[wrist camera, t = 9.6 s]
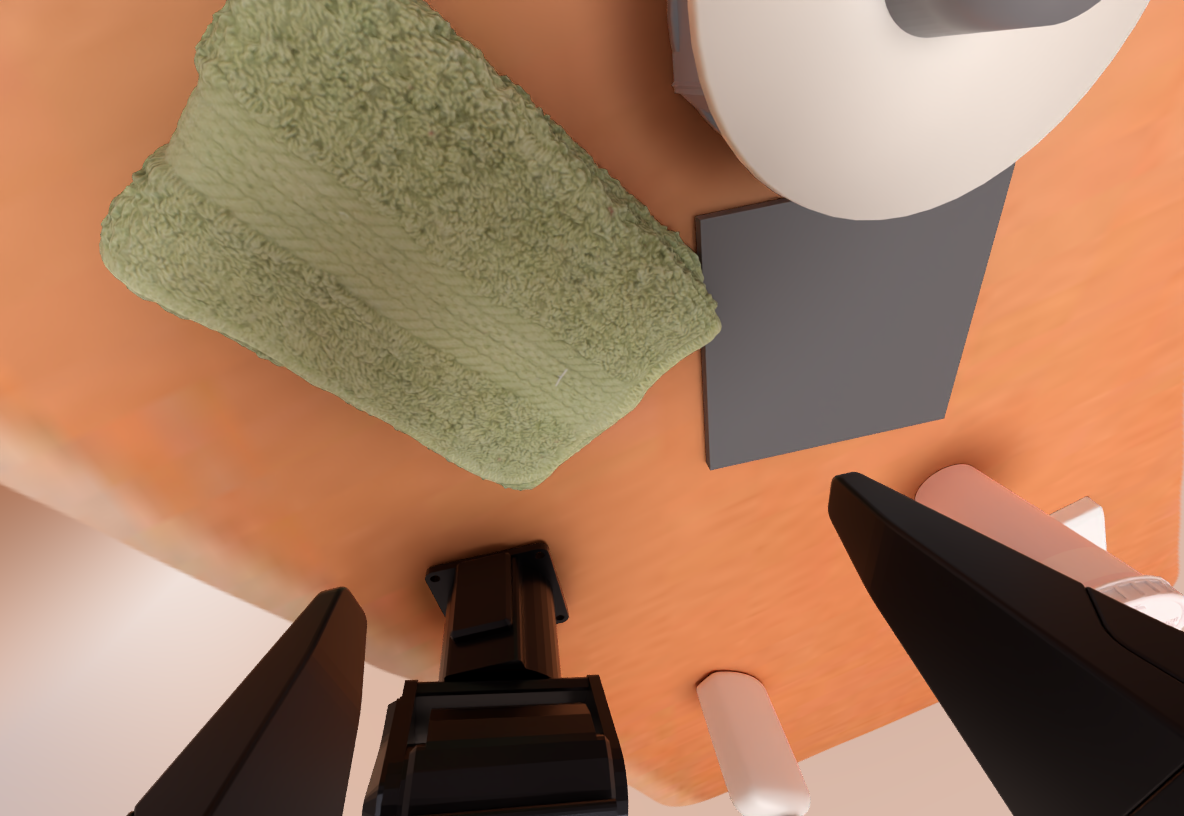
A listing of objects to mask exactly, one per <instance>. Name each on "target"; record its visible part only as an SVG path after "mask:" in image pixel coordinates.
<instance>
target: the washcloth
mask: <svg viewBox="0 0 1184 816" xmlns="http://www.w3.org/2000/svg"><path fill="white" fill-rule="evenodd" d="M195 49H196V54H195V59H194V63H195V66H196V69H197V71H198V73H199V79H198V84H197V86H196V87H195V88H194V90H193V91H192V93H191V95H190V97H189V99H188V101H187V105H186V107H185V108H184V109H183V112H182V114H181V117H180V119H179V121H178V124H177V128H176V130H175V132H174V133H173V135H172V137H171V140H170V142H169V144H165V145H163V146H162V147H160V148H158V149H157V150H156V151H155V152H154V153H153V154H151V155H150V156H149V157H148V158H147V159H146V160H145V162H144V164H143V167H142V169H141V170H139V171H137V172H135V173H133V175H132V179H133V182H132V183H131V184H130V185H129V186H126V188H125V190H124V191H123V192H122V193H121V194H119V195H118V196H117V197H115V198H114V199H113V200H112V202H111V204H110V207H109V212H108V215H107V216H106V217H105V218H104V219H103V221H102V223H101V226H102V231H101V234H100V235H101V240H100V243H99V247H100V254H101V257H102V260H103V262H104V264H105V266H106V268H107V269H108V270H109V271H110V272H111V273H112V274H113V275H114V276H115V277H116V278H117V279H119V280H120V281H121V282H123V283H124V284H125V285H126V286H127V288H128V289H129V290H130V291H132V292H133V293H134V294H136V295H137V296H139V297H140V298H142V299H143V300H148V301H152V302H156V303H157V304H159V305H160V306H161V307H162V308H163V309H164V310H165V311H167V312H170V313H172V314H174V315H176V316H177V317H179V318H182V319H187V320H192V321H195V322H197V323H199V324H201V325H203V326H205V327H207V328H209V329H211V330H215V331H218V332H219V333H221V334H222V335H224V336H225V337H227V338H230V339H232V340H234V341H236V342H237V343H239V344H240V345H241V346H243V347H246V348H247V349H249V350H251V351H253V352H255V353H256V354H257V356H258V357H259V358H262V359H267V360H269V361H271V362H272V363H273V364H275V365H277V366H283V367H286V368H287V369H288V370H291V371H292V372H294V373H295V374H297V375H298V376H300V377H302V378H303V379H305V380H306V381H307V382H309V383H310V384H311V385H313V386H316V387H319V388H321V389H322V390H325V391H328V392H330V393H332V394H334V395H336V396H338V397H340V398H341V399H342V400H344V401H345V402H346V403H347V404H351V405H352V406H354V407H355V408H357V409H358V410H360V411H365V412H367V413H368V414H369V415H370V416H375V417H377V418H379V419H381V420H383V421H384V422H386V423H388V424H390V425H392V426H393V427H394V429H395V430H397V431H398V430H400V431H401V432H403V433H405V434H407V435H410V436H411V437H413V438H414V439H415V440H417V441H418V442H420V443H421V444H422V445H424V446H426V447H428V449H431V450H433V451H434V452H435V453H437V454H440V455H442V456H443V457H445V458H446V460H447V461H448V462H452V463H454V464H456V465H457V466H458V467H460V468H463V469H465V470H467V471H469V472H471V473H473V474H475V475H477V476H480V477H481V478H482V480H484V479H487V480H490V481H493V482H496V483H497V484H500V485H502V486H503V487H504V488H511V489H514V490H520V491H521V490H526V489H533V488H535V487H536V486H538V485H539V484H540V483H542V482H543V481H544V480H545V479H546V478H547V477H549V476H550V475H551V474H552V473H553V472H554V470H555V469H556V468H557V467H558V466H560V465H561V464H562V463H564V462H565V461H566V460H568V459H569V458H570V457H571V456H573V455H574V454H575V453H576V452H579V451H580V449H582V448H583V447H584V446H585V445H586V444H589V443H590V442H591V441H592V440H593V439H594V438H596V437H597V436H598V435H600V434H601V433H602V432H603V431H605V430H607V429H608V428H609V427H611V426H612V425H614V424H615V423H616V422H617V421H618V420H620V419H621V418H623V417H624V416H625V415H627V414H628V413H629V412H631V411H632V410H633V409H634V408H635V407H636V406H637V405H638V404H639V402H640V401H641V400H642V398H643V396H644V394H645V393H646V391H647V390H648V389H649V388H650V387H651V386H652V385H653V384H654V383H655V382H656V381H657V380H658V379H659V378H660V377H661V376H662V375H663V374H664V373H666V372H667V371H668V370H669V369H670V368H672V367H673V366H674V365H676V364H677V363H678V362H679V361H680V360H682V359H683V358H685V357H686V356H688V355H690V354H691V353H693V352H694V351H696V350H698V349H700V348H702V347H703V346H705V345H706V344H708V343H709V342H711V341H712V340H713V339H714V338H715V336H716V335H717V334H718V333H720V331H721V327H722V325H721V321H720V319H719V317H718V316H717V314H716V312H715V309H716V307H717V304H718V303H717V302H716V301H715V300H714V299H713V298H712V295H711V294H708V292H707V290H706V285H705V284H704V283H703V281H704V276H703V274H702V269H701V263H700V261H699V257H698V256H697V254H696V253H694V252H693V251H692V250H691V249H690V248H689V247H688V246H687V245H686V244H685V243H684V242H683V241H682V239H681V238H680V236H679V232H674V231H669V230H667V228H668V227H666V226H663V225H660V223H659V222H658V221H656V220H655V219H654V217H653V216H652V215H650V212H649V210H648V208H647V206H645V205H643V204H642V203H641V202H640V201H639V200H638V199H636V198H635V197H634V196H633V195H632V194H629V193H628V192H627V191H626V190H625V189H624V188H623V187H622V186H621V184H620V181H619V180H617V179H614V178H612V177H611V176H610V175H609V174H608V171H607V170H606V169H604V168H598V166H597V165H596V164H595V163H594V161H593V158H592V157H591V156H590V155H589V154H588V153H587V152H586V150H585V149H583V148H581V147H580V146H579V145H578V144H577V143H576V142H574V141H573V140H572V139H571V137H570V136H569V135H567V134H566V132H565V130H564V129H563V128H562V126H561V125H557V124H556V123H555V122H554V121H553V120H552V119H550V115H544V114H543V110H542V108H540V107H538V108H536V107H535V104H534V103H533V102H532V101H531V98H530V95H529V94H527V93H526V92H525V91H524V90H523V89H522V88H521V87H520V86H519V85H515V84H514V83H513V82H512V81H511V80H510V79H509V78H508V77H507V75H505V76H499V75H498V74H497V73H496V71H495V69H494V68H493V67H492V66H491V65H490V64H489V63H488V62H487V61H486V59H485V58H484V55H483V53H482V52H481V50H479V49H477V48H476V47H474V46H473V45H472V44H471V43H470V42H469V41H467V40H464V39H462V38H461V37H459V36H457V35H456V33H455V31H454V30H453V29H452V28H451V26H450V23H449V22H447V21H446V20H444V19H443V18H442V16H441V15H440V14H439V13H438V12H436V11H434V10H432V9H431V8H430V6H429V5H428V4H427V3H426V2H425V1H423V0H227V1H226V4H225V6H224V7H223V8H222V9H221V10H219V11H218V12H216V13H214V14H213V21H212V23H211V24H209V25H208V27H207V29H206V32H205V33H204V34H203V36H202V38H201V41H200V42H199V43H198V44H197V45H196V47H195Z"/></svg>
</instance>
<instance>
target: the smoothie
mask: <svg viewBox="0 0 1184 816" xmlns="http://www.w3.org/2000/svg"><path fill="white" fill-rule="evenodd" d="M915 501H917V502H919V503H921V504H923V505H925V506H927V507H929V508H931V509H933V510H935V511H937V512H939V513H941V514H943V515H945V516H947V517H949V518H951V519H953V520H955V521H957V522H959V523H961V524H963V525H965V526H968V527H970V528H972V529H974V530H976V531H978V532H980V533H982V534H984V535H986V536H988V537H990V538H992V539H994V540H996V541H998V542H1000V543H1002V544H1004V545H1006V546H1008V547H1010V548H1012V549H1014V550H1016V551H1018V552H1020V553H1022V554H1024V555H1026V556H1028V557H1030V558H1032V559H1034V560H1036V561H1038V562H1040V563H1042V564H1044V565H1046V566H1048V567H1050V568H1052V569H1054V570H1056V571H1058V572H1060V573H1062V574H1064V575H1066V576H1068V577H1070V578H1072V579H1075V580H1077V581H1079V582H1081V583H1082V584H1083V585H1084V587H1091V588H1093V589H1095V590H1097V591H1099V592H1101V593H1103V594H1105V595H1107V596H1109V597H1111V598H1113V599H1115V600H1117V601H1119V602H1121V603H1123V604H1126V605H1128V606H1130V607H1132V608H1134V609H1136V610H1138V611H1140V612H1142V613H1144V614H1147V615H1149V616H1151V617H1153V618H1155V619H1157V620H1159V621H1161V622H1163V623H1165V624H1167V625H1170V626H1172V627H1174V628H1176V629H1179V630H1181V629H1182V628H1183V627H1184V596H1183V595H1182V594H1181V593H1179V592H1178V591H1177V590H1175V589H1174V588H1173V587H1172V586H1170V583H1169V582H1167V581H1166V580H1164V579H1163V578H1161V577H1158V576H1151V575H1142V574H1141V573H1139V572H1138V571H1136V570H1135V569H1133V568H1132V567H1130V566H1128V565H1127V564H1125V563H1124V562H1122V561H1121V560H1119V559H1118V558H1116V557H1115V556H1113V555H1112V554H1110V553H1109V552H1107V551H1105V550H1104V549H1102V548H1100V547H1099V546H1097V545H1095V544H1094V543H1092V542H1091V541H1089V540H1087V539H1086V538H1084V537H1083V536H1081V535H1080V534H1078V533H1076V532H1075V531H1073V530H1072V529H1070V528H1069V527H1067V526H1065V525H1064V524H1062V523H1061V522H1059V521H1057V520H1056V519H1054V518H1053V517H1051V516H1050V515H1048V514H1046V513H1045V512H1043V511H1042V510H1040V509H1039V508H1037V507H1035V506H1034V505H1032V504H1031V503H1029V502H1028V501H1026V500H1024V499H1023V498H1021V497H1020V496H1018V495H1016V494H1015V493H1013V492H1012V491H1010V490H1009V489H1007V488H1005V487H1004V486H1002V485H1001V484H999V483H998V482H996V481H994V480H993V479H991V478H990V477H988V476H986V475H985V474H983V473H982V472H980V471H979V470H977V469H975V468H974V467H972V466H970V465H966V464H958V465H952V466H949V467H946V468H944V469H942V470H940V471H938V472H936V473H935V474H933V475H932V476H930V477H929V478H928V479H927V480H926V481H925V482H924V483H923V484H922V485H921V487H920V488H919V490H918V491H917V494H916V496H915Z"/></svg>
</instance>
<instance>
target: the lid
mask: <svg viewBox="0 0 1184 816" xmlns="http://www.w3.org/2000/svg"><path fill="white" fill-rule="evenodd" d="M1149 1H1150V0H688V16H689V25H690V35H691V45H692V50H693V54H694V59H695V63H696V68H697V73H698V77H699V81H700V84H701V87H702V90H703V93H704V96H705V99H706V102H707V104H708V107H709V110H710V112H711V114H712V116H713V118H714V120H715V122H716V124H717V126H718V128H719V130H720V132H721V134H722V136H723V138H724V140H725V141H726V142H727V144H728V145H729V147H730V148H731V150H732V151H733V153H734V154H735V155H736V157H737V158H738V160H739V161H740V162H741V163H742V164H743V165H744V166H745V167H746V168H747V169H748V170H749V171H750V172H751V173H752V175H753V176H754V177H755V178H756V179H758V180H759V181H760V182H762V183H763V184H764V185H766V186H767V187H768V188H770V189H771V190H772V191H774V192H775V193H777V194H779V195H780V196H782V197H784V198H786V199H788V200H790V201H792V202H794V203H796V204H798V205H801V206H803V207H805V208H808V209H810V210H813V211H816V212H819V213H822V214H826V215H829V216H832V217H838V218H844V219H851V220H885V219H891V218H898V217H904V216H909V215H912V214H916V213H919V212H923V211H926V210H930V209H933V208H935V207H937V206H940V205H942V204H945V203H947V202H949V201H952V200H954V199H957V198H959V197H961V196H962V195H964V194H966V193H968V192H970V191H972V190H973V189H975V188H977V187H979V186H981V185H983V184H984V183H986V182H987V181H989V180H990V179H992V178H993V177H995V176H996V175H998V174H999V173H1001V172H1002V171H1004V170H1005V169H1007V168H1008V167H1009V166H1011V165H1012V164H1013V163H1015V162H1016V161H1017V160H1018V159H1019V158H1021V157H1022V156H1023V155H1024V154H1026V153H1027V152H1028V151H1029V150H1031V149H1032V148H1033V147H1034V146H1036V145H1037V144H1038V143H1039V142H1040V141H1041V140H1042V139H1043V138H1044V137H1045V136H1046V135H1047V134H1048V133H1049V132H1050V131H1051V130H1052V129H1053V128H1054V127H1056V126H1057V125H1058V124H1059V123H1060V122H1061V121H1062V120H1063V119H1064V118H1065V116H1066V115H1067V114H1068V113H1069V112H1070V111H1071V110H1072V109H1073V108H1074V106H1075V105H1076V104H1077V103H1078V102H1079V101H1080V100H1081V99H1082V98H1083V97H1084V95H1085V94H1086V93H1087V92H1088V91H1089V90H1090V88H1091V87H1092V86H1093V84H1094V83H1095V82H1096V81H1097V79H1098V78H1099V77H1100V75H1101V74H1102V73H1103V71H1104V70H1105V69H1106V68H1107V66H1108V65H1109V64H1110V62H1111V61H1112V60H1113V58H1114V57H1115V55H1116V54H1117V52H1118V51H1119V49H1120V48H1121V46H1122V45H1123V43H1124V42H1125V40H1126V39H1127V37H1128V36H1129V34H1130V33H1131V31H1132V30H1133V29H1134V27H1135V26H1136V24H1137V22H1138V20H1139V19H1140V17H1141V15H1142V13H1143V12H1144V10H1145V8H1146V6H1147V5H1148V3H1149Z"/></svg>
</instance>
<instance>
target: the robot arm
mask: <svg viewBox="0 0 1184 816" xmlns="http://www.w3.org/2000/svg"><path fill="white" fill-rule="evenodd" d="M828 513H829V517H830V519H831V522H832V524H833V525H834V527H835V529H836V531H837V533H838V535H839V537H840V539H841V541H842V543H843V545H844V547H845V549H846V551H847V553H848V555H849V557H850V559H851V561H852V563H853V565H854V567H855V568H856V570H857V572H858V574H859V576H860V578H861V580H862V582H863V584H864V586H865V588H866V589H867V591H868V593H869V595H870V596H871V598H872V600H873V601H874V603H875V604H876V606H877V608H878V609H879V611H880V612H881V614H882V615H883V617H884V618H885V620H886V621H887V623H888V624H889V626H890V628H891V629H892V631H893V632H894V634H895V635H896V637H897V638H898V640H899V641H900V643H901V644H902V646H903V647H904V649H905V650H906V652H907V654H908V655H909V657H910V658H911V660H912V661H913V663H914V664H915V666H916V667H917V669H918V670H919V672H920V673H921V675H922V677H923V678H924V680H925V681H926V683H927V684H928V686H929V687H930V689H931V690H932V692H933V693H934V695H935V696H936V698H937V699H938V701H939V703H940V704H941V706H942V707H943V708H944V710H945V712H946V713H947V715H948V716H949V718H950V719H951V721H952V722H953V724H954V725H955V727H956V728H957V730H958V732H959V733H960V735H961V736H962V738H963V739H964V741H965V742H966V744H967V745H968V747H969V748H970V750H971V751H972V753H973V755H974V756H975V757H976V759H977V761H978V762H979V764H980V765H981V767H982V768H983V770H984V771H985V773H986V774H987V776H988V778H989V779H990V781H991V782H992V784H993V785H994V787H995V788H996V790H997V791H998V793H999V794H1000V796H1001V797H1002V799H1003V800H1004V802H1005V804H1006V805H1007V806H1008V808H1009V810H1010V811H1011V812H1012V814H1013V816H1184V632H1183V631H1181V630H1179V629H1176V628H1174V627H1172V626H1170V625H1167V624H1165V623H1163V622H1161V621H1159V620H1157V619H1155V618H1153V617H1151V616H1149V615H1147V614H1144V613H1142V612H1140V611H1138V610H1136V609H1134V608H1132V607H1130V606H1128V605H1126V604H1123V603H1121V602H1119V601H1117V600H1115V599H1113V598H1111V597H1109V596H1107V595H1105V594H1103V593H1101V592H1099V591H1097V590H1095V589H1093V588H1091V587H1084V585H1083V584H1082V583H1081V582H1079V581H1077V580H1075V579H1072V578H1070V577H1068V576H1066V575H1064V574H1062V573H1060V572H1058V571H1056V570H1054V569H1052V568H1050V567H1048V566H1046V565H1044V564H1042V563H1040V562H1038V561H1036V560H1034V559H1032V558H1030V557H1028V556H1026V555H1024V554H1022V553H1020V552H1018V551H1016V550H1014V549H1012V548H1010V547H1008V546H1006V545H1004V544H1002V543H1000V542H998V541H996V540H994V539H992V538H990V537H988V536H986V535H984V534H982V533H980V532H978V531H976V530H974V529H972V528H970V527H968V526H965V525H963V524H961V523H959V522H957V521H955V520H953V519H951V518H949V517H947V516H945V515H943V514H941V513H939V512H937V511H935V510H933V509H931V508H929V507H927V506H925V505H923V504H921V503H919V502H917V501H915V500H913V499H911V498H909V497H907V496H905V495H903V494H901V493H899V492H897V491H895V490H893V489H891V488H889V487H887V486H885V485H883V484H881V483H879V482H877V481H875V480H873V479H871V478H869V477H867V476H865V475H863V474H860V473H857V472H850V473H846V474H841V475H837V476H835V477H834V478H833V479H832V482H831V488H830V495H829V503H828ZM538 552H541V553H538ZM425 580H426V583H427V584H428V586H429V588H430V590H431V592H432V594H433V596H434V597H435V599H436V601H437V603H438V605H439V607H440V608H441V610H442V612H443V614H444V616H445V626H444V635H443V645H442V654H441V663H440V672H439V681H438V682H418V680H405V685H404V689H403V694H402V697H400V699H397V700H396V701H395V702H393V703H391V704H389V705H388V709H387V714H386V720H385V725H384V730H383V736H382V740H381V745H380V749H379V752H378V756H377V759H376V762H375V766H374V769H373V772H372V775H371V779H370V782H369V785H368V789H367V792H366V796H365V799H364V804H363V810H362V816H628V789H627V778H626V770H625V764H624V758H623V754H622V751H621V747H620V743H619V740H618V737H617V733H616V730H615V727H614V723H613V720H612V717H611V714H610V710H609V707H608V704H607V700H606V697H605V694H604V690H603V687H602V684H601V680H600V677H599V675H587V677H574V678H561V670H560V659H559V649H558V638H557V628H556V624H558V623H562V622H565V621H566V620H567V619H568V618H569V615H568V609H567V606H566V602H565V599H564V596H563V593H562V589H561V586H560V583H559V580H558V576H557V573H556V570H555V567H554V564H553V560H552V557H551V554H550V551H549V547H548V546H547V545H546V544H544V543H535V544H531V545H527V546H522V547H518V548H513V549H509V550H504V551H500V552H495V553H491V554H486V555H482V556H477V557H473V558H469V559H464V560H460V561H455V562H451V563H446V564H442V565H437V566H433V567H430V568H429V569H427V571H426V576H425ZM366 632H367V620H366V616H365V613H364V611H363V610H362V608H361V607H360V605H359V604H358V602H357V601H356V599H355V598H354V596H353V595H352V594H351V592H350V591H349V590H348V589H347V588H346V587H337V588H333V589H328V590H324V591H322V592H320V593H319V594H318V595H317V596H316V597H315V598H314V599H313V600H312V602H311V603H310V604H309V605H308V606H307V607H306V609H305V610H304V611H303V612H302V613H301V614H300V615H299V617H298V618H297V619H296V620H295V621H294V622H293V624H292V625H291V626H290V627H289V628H288V630H287V631H286V632H285V633H284V634H283V635H282V637H280V639H279V640H278V641H277V642H276V643H275V644H274V646H273V647H272V648H271V649H270V650H269V651H268V653H267V654H266V655H265V656H264V657H263V658H262V659H261V661H260V662H259V663H258V664H257V665H256V666H255V668H254V669H253V670H252V671H251V672H250V673H249V675H248V676H247V677H246V678H245V679H244V680H243V682H242V683H241V684H240V685H239V686H238V687H237V689H236V690H235V691H234V692H233V693H232V694H231V696H230V697H229V698H228V699H227V700H226V701H225V702H224V704H223V705H222V706H221V707H220V708H219V709H218V711H217V712H216V713H215V714H214V715H213V716H212V717H211V719H210V720H209V721H208V722H207V723H206V725H205V726H204V727H203V728H202V729H201V730H200V731H199V732H198V734H197V735H196V736H195V737H194V738H193V739H192V741H191V742H190V743H189V744H188V745H187V747H186V748H185V749H184V750H183V751H182V752H181V754H180V755H179V756H178V757H177V758H176V759H175V760H174V761H173V763H172V764H171V765H170V766H169V767H168V768H167V770H166V771H165V772H164V773H163V774H162V775H161V777H160V778H159V779H158V780H157V781H156V782H155V784H154V785H153V786H152V787H151V788H150V789H149V790H148V792H147V793H146V794H145V795H144V796H143V797H142V799H141V800H140V801H139V802H138V803H137V805H136V806H135V809H134V811H131V812H130V813H128V815H127V816H342V814H343V808H344V803H345V797H346V791H347V786H348V779H349V775H350V769H351V763H352V758H353V752H354V747H355V740H356V735H357V730H358V724H359V717H360V710H361V700H362V687H363V674H364V660H365V646H366Z"/></svg>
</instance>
